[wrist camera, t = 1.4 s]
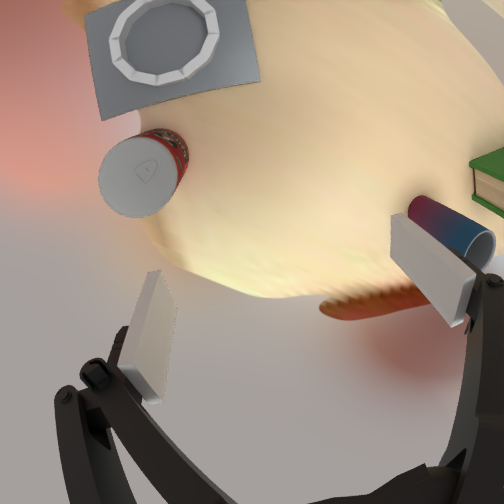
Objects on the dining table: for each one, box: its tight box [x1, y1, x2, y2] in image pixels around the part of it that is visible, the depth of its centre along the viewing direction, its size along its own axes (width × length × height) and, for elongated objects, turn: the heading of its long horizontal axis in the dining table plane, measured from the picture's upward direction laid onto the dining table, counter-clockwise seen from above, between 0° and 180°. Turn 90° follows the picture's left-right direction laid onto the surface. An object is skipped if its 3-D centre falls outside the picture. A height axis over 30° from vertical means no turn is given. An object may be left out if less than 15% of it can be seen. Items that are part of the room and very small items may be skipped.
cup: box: [408, 196, 496, 272], centre depth 34 cm, size 7×7×15 cm
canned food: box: [98, 129, 189, 218], centre depth 29 cm, size 8×8×11 cm
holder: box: [85, 0, 261, 121], centre depth 25 cm, size 16×20×4 cm
